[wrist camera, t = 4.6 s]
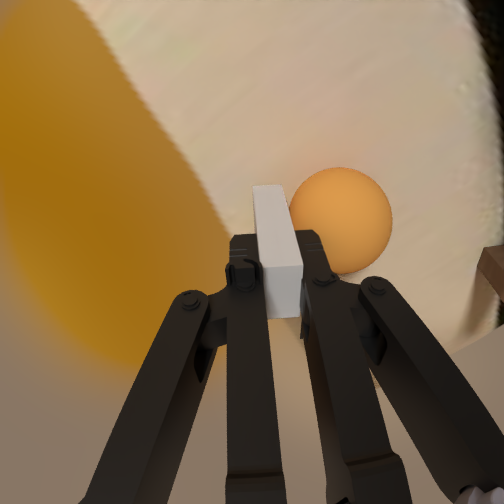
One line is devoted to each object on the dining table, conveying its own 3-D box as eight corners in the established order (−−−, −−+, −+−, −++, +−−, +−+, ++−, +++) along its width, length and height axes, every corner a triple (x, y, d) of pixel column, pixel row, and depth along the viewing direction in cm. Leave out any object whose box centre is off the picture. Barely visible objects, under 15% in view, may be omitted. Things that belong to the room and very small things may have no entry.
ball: (279, 155, 17) (297, 202, 13) (374, 151, 17) (419, 195, 13) (282, 239, 20) (296, 301, 16) (365, 231, 20) (397, 289, 16)
